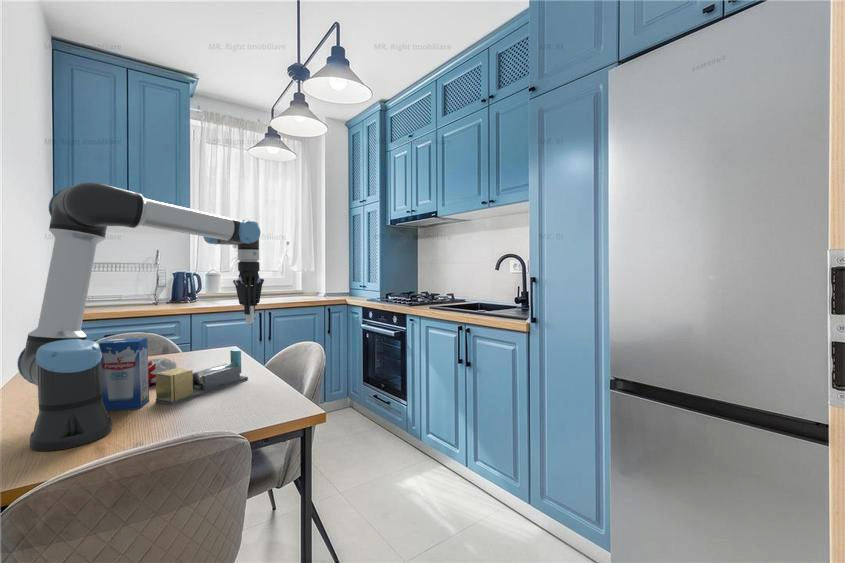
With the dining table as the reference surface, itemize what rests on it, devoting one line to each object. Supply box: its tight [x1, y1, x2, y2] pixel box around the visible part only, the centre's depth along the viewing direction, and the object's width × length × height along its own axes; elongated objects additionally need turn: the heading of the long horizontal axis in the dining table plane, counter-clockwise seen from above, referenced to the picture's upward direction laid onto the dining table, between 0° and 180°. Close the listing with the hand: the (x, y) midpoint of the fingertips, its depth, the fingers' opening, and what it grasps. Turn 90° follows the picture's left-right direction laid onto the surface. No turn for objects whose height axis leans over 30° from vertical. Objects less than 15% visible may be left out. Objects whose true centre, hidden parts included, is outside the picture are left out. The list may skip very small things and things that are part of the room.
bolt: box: [195, 349, 242, 384], centre depth 138 cm, size 16×4×8 cm, turn 157°
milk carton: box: [98, 337, 150, 412], centre depth 117 cm, size 10×6×20 cm, turn 105°
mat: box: [155, 375, 249, 406], centre depth 133 cm, size 29×8×1 cm, turn 157°
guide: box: [155, 363, 241, 402], centre depth 131 cm, size 25×7×8 cm, turn 157°
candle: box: [148, 357, 178, 386], centre depth 139 cm, size 9×11×15 cm
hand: (250, 322), depth 150 cm, fingers closed
